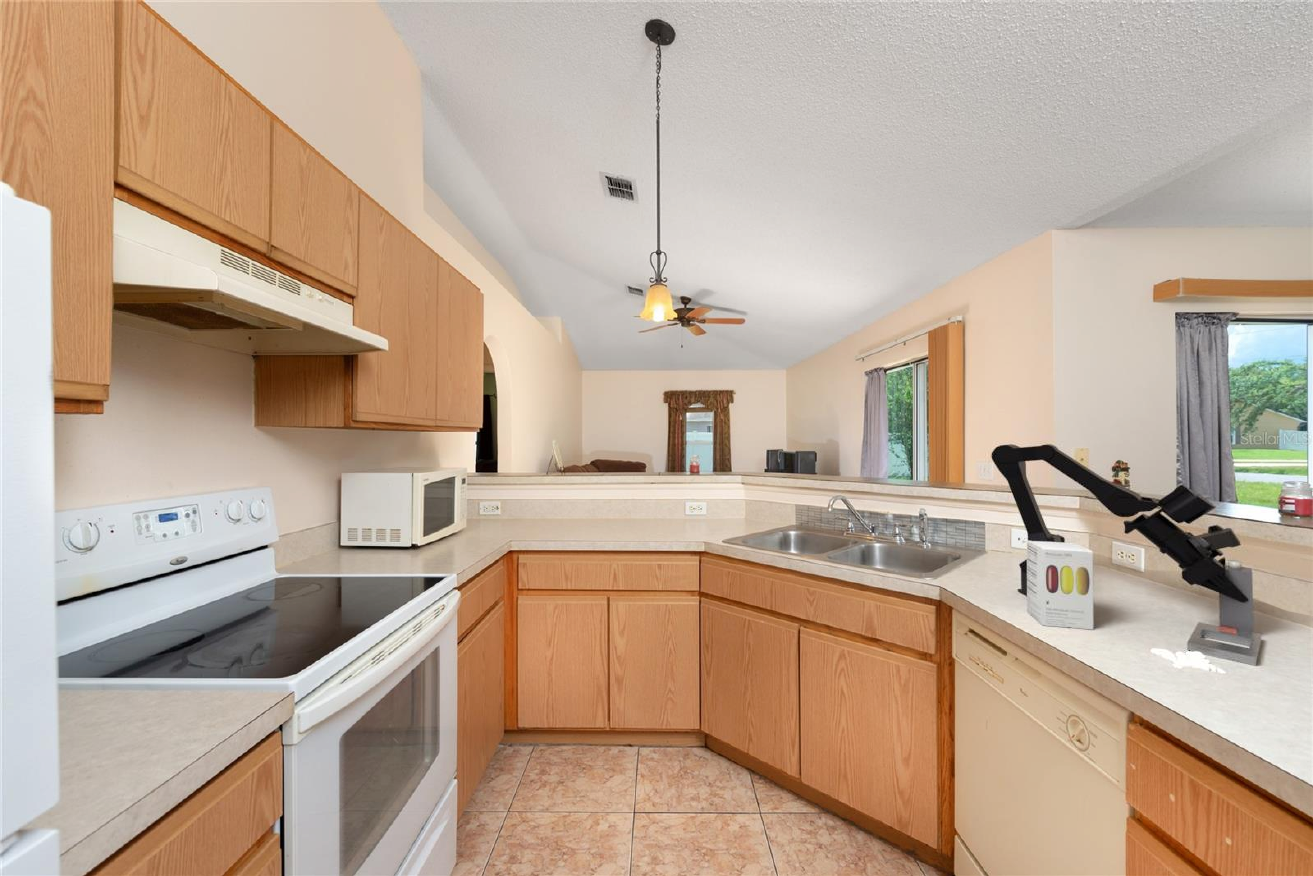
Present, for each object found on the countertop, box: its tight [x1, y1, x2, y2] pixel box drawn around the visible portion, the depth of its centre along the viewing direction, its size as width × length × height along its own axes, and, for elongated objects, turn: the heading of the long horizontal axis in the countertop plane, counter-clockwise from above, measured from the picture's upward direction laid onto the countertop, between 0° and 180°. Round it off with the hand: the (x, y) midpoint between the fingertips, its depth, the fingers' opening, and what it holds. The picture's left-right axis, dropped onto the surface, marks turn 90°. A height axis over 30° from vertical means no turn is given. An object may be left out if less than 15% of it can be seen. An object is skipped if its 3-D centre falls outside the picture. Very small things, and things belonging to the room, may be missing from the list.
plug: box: [1218, 559, 1254, 633], centre depth 104 cm, size 4×4×14 cm
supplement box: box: [1026, 540, 1095, 631], centre depth 112 cm, size 10×9×17 cm
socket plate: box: [1186, 621, 1262, 667], centre depth 97 cm, size 16×8×2 cm, turn 128°
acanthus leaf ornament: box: [1150, 648, 1227, 674], centre depth 91 cm, size 8×7×2 cm
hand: (1245, 598), depth 103 cm, fingers closed on plug, 4 cm apart
